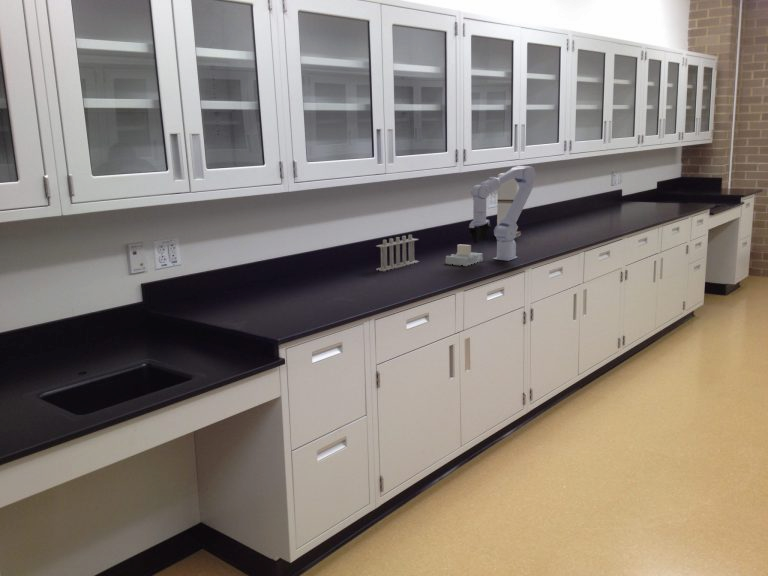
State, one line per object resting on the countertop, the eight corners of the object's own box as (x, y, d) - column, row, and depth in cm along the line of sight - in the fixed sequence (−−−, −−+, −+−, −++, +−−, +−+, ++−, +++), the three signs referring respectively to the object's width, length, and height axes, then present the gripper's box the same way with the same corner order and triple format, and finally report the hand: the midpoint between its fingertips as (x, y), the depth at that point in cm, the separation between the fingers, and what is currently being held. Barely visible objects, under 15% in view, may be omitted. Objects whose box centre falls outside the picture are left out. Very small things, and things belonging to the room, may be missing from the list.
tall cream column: (515, 238, 373) (516, 174, 365) (496, 237, 378) (497, 174, 370) (520, 235, 383) (522, 173, 375) (502, 234, 388) (503, 172, 380)
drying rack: (462, 258, 316) (462, 251, 315) (482, 261, 310) (482, 253, 309) (445, 263, 305) (445, 256, 304) (466, 266, 299) (466, 258, 298)
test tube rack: (411, 261, 313) (411, 233, 310) (419, 262, 310) (418, 234, 307) (376, 270, 294) (375, 240, 291) (383, 271, 291) (383, 241, 288)
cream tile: (459, 259, 310) (459, 244, 308) (470, 260, 306) (471, 245, 305) (457, 259, 308) (457, 244, 307) (468, 261, 305) (468, 245, 303)
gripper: (480, 209, 310) (479, 238, 313) (463, 213, 299) (463, 243, 302) (493, 210, 306) (493, 240, 309) (477, 214, 295) (477, 244, 298)
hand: (479, 241), depth 305 cm, fingers open, 7 cm apart
